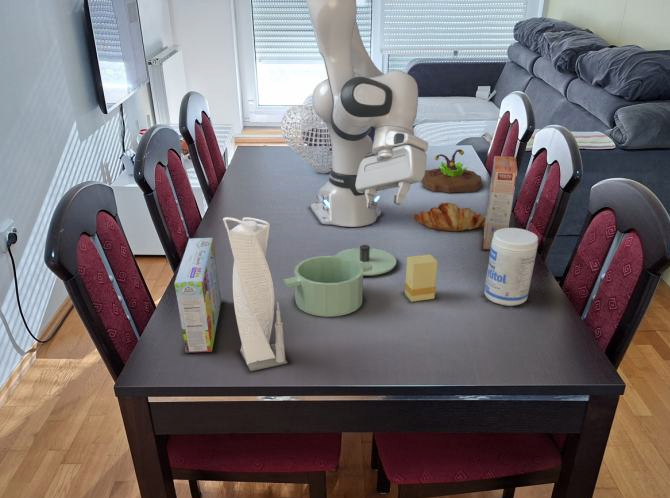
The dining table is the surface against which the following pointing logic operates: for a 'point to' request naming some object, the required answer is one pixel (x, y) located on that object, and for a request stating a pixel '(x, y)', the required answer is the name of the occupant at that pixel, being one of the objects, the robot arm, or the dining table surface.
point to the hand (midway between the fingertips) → (384, 206)
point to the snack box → (198, 295)
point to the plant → (451, 177)
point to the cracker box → (500, 197)
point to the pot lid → (371, 258)
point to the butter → (421, 277)
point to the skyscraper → (254, 295)
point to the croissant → (450, 218)
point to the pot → (328, 285)
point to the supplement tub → (510, 266)
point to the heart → (293, 144)
